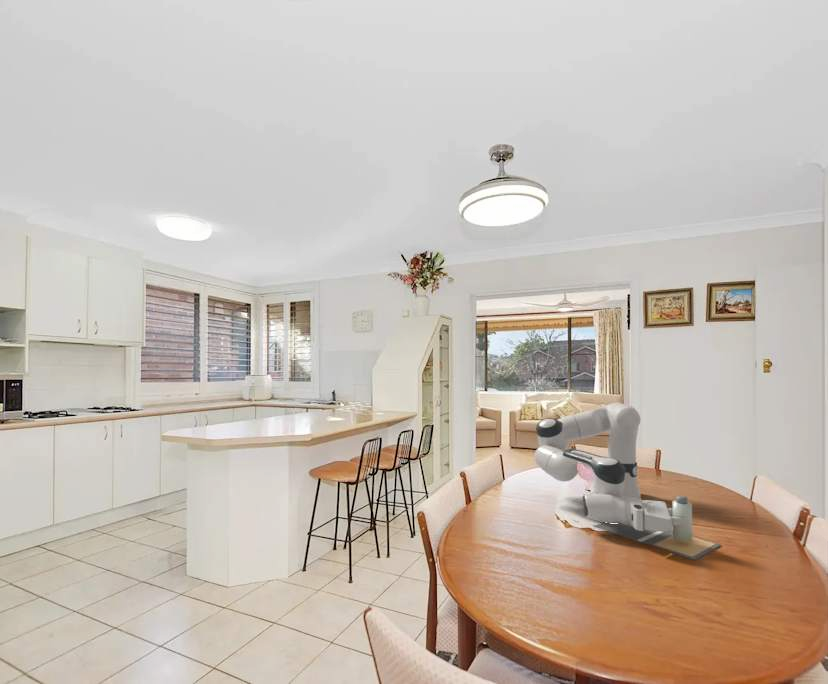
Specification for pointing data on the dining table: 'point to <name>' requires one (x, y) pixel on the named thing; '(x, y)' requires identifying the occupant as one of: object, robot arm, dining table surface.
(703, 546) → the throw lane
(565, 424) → the robot arm
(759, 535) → the dining table surface
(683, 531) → the bottle
